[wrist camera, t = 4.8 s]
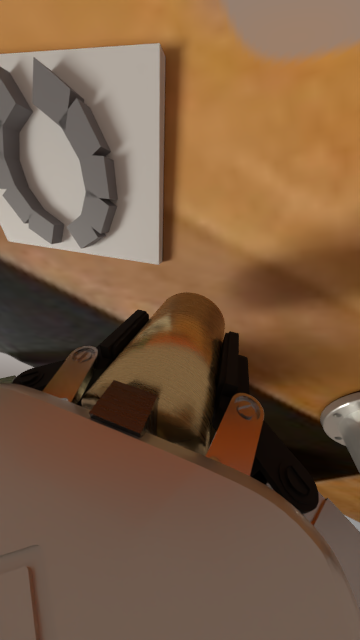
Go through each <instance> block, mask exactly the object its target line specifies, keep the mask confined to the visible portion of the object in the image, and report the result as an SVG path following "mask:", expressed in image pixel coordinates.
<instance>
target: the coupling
mask: <svg viewBox="0 0 360 640" xmlns="http://www.w3.org/2000/svg"><path fill="white" fill-rule="evenodd" d="M224 329H225V322H224V318H223V315H222V313H221V311H220V310H219V308H218V307H217V306H216V305H215V304H214V303H213V302H212V301H211V300H209V299H208V298H206V297H204V296H202V295H199V294H195V293H179V294H176V295H173V296H171V297H170V298H168V299H167V300H166V301H165V302H164V303H163V304H162V306H161V307H160V308H159V309H158V310H157V311H156V312H155V314H154V315H153V316H152V317H151V318H150V319H149V321H148V322H147V323H146V324H145V325H144V326H143V327H142V329H141V330H140V331H139V332H138V333H137V334H136V336H135V337H134V338H133V339H132V340H131V341H130V342H129V344H128V345H127V346H126V347H125V348H124V349H123V351H122V352H121V353H120V354H119V355H118V356H117V357H116V359H115V360H114V361H113V362H112V363H111V364H110V366H109V367H108V368H107V369H106V370H105V371H104V372H103V374H102V375H101V376H100V377H99V378H98V379H97V381H96V382H95V383H94V384H93V385H92V386H91V387H90V389H89V390H88V391H87V392H86V393H85V394H84V396H83V397H82V401H81V404H82V407H84V408H86V409H89V410H90V412H89V415H90V417H91V418H93V419H96V420H98V421H100V422H103V423H105V424H108V425H110V426H113V427H115V428H118V429H120V430H122V431H125V432H127V433H130V434H132V435H135V436H137V437H140V438H141V437H142V436H143V435H144V434H145V433H146V432H147V433H149V434H152V435H154V436H157V437H159V438H161V439H164V440H166V441H169V442H171V443H174V444H176V445H179V446H181V447H184V448H186V449H189V450H191V451H194V452H196V453H199V454H201V455H203V456H206V454H207V452H208V449H209V442H210V434H211V427H212V419H213V412H214V404H215V395H216V387H217V380H218V373H219V365H220V358H221V350H222V343H223V337H224Z"/></svg>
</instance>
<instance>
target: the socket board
mask: <svg viewBox="0 0 360 640" xmlns="http://www.w3.org/2000/svg"><path fill="white" fill-rule="evenodd" d="M165 58H166V57H165V54H164V52H163V50H162V47H161V45H160V43H156V44H141V45H127V46H112V47H97V48H83V49H68V50H53V51H38V52H24V53H9V54H0V225H1V227H2V229H3V231H4V233H5V235H6V237H7V239H8V241H11V242H17V243H23V244H30V245H36V246H43V247H49V248H55V249H62V250H68V251H75V252H81V253H87V254H94V255H100V256H107V257H113V258H119V259H126V260H132V261H139V262H145V263H151V264H158V265H159V264H160V263H162V249H163V185H164V122H165Z"/></svg>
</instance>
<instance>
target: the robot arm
mask: <svg viewBox="0 0 360 640" xmlns="http://www.w3.org/2000/svg"><path fill="white" fill-rule="evenodd" d="M148 321H149V315H148V314H147V312H146V311H142V310H137V311H136V312H135V313H134V314H132V315H131V316H130V317H129V318H128V319H127V320H126V321H125V322H124V323H123V324H121V325H120V326H119V327H118V328H117V329H116V330H115V331H114V332H113V333H112V334H111V335H109V336H108V337H107V338H106V339H105V340H104V341H103V342H102V343H101V344H100V345H99V346H98V347H96V348H95V347H92V346H84V347H80V348H78V349H76V350H75V351H73V352H72V353H71V354H70V355H69V357H68V358H67V359H66V360H63V361H59V362H55V363H51V364H47V365H44V366H40V367H36V368H32V369H29V370H27V371H25V372H23V373H21V374H20V375H18V376H17V377H16V376H10V377H6V378H1V379H0V640H360V532H359V531H358V530H357V529H356V528H355V526H354V525H353V524H352V523H351V522H350V521H349V520H348V519H347V518H346V517H345V516H344V515H343V514H342V513H341V512H340V510H339V509H338V508H337V507H336V506H335V505H334V504H333V503H332V502H331V501H330V500H329V499H328V498H327V499H325V498H324V497H323V496H322V495H321V494H320V493H319V492H318V490H317V487H316V484H315V482H314V480H313V478H312V476H311V475H310V474H309V472H308V471H307V470H306V468H305V467H304V466H303V465H302V464H301V463H300V462H299V460H298V459H297V458H296V457H295V456H294V455H293V454H292V452H291V451H290V450H289V449H288V448H287V447H286V445H285V444H284V443H283V442H282V441H281V440H280V439H279V437H278V436H277V435H276V434H275V433H274V432H273V431H272V429H271V428H270V427H269V426H268V425H267V424H266V423H265V421H264V420H263V419H264V411H263V408H262V406H261V404H260V403H259V402H258V401H257V400H256V399H255V398H254V397H252V396H251V395H250V393H249V375H248V359H247V357H245V356H241V355H238V352H239V334H238V333H234V332H229V333H225V337H224V340H223V343H222V350H221V358H220V365H219V373H218V380H217V387H216V395H215V404H214V412H213V419H212V423H213V425H212V426H213V427H214V429H215V430H216V434H215V437H214V439H213V441H212V443H211V445H210V448H209V450H208V452H207V454H206V456H203V455H201V454H199V453H196V452H194V451H191V450H189V449H186V448H184V447H181V446H179V445H176V444H174V443H171V442H169V441H166V440H164V439H161V438H159V437H157V436H154V435H152V434H149V433H147V432H146V433H145V434H144V435H143V436H142V437H141V438H140V437H137V436H135V435H132V434H130V433H127V432H125V431H122V430H120V429H118V428H115V427H113V426H110V425H108V424H105V423H103V422H100V421H98V420H96V419H93V418H91V417H90V415H89V412H90V410H89V409H86V408H84V407H82V404H81V401H82V397H83V396H84V394H85V393H86V392H87V391H88V390H89V389H90V387H91V386H92V385H93V384H94V383H95V382H96V381H97V379H98V378H99V377H100V376H101V375H102V374H103V372H104V371H105V370H106V369H107V368H108V367H109V366H110V364H111V363H112V362H113V361H114V360H115V359H116V357H117V356H118V355H119V354H120V353H121V352H122V351H123V349H124V348H125V347H126V346H127V345H128V344H129V342H130V341H131V340H132V339H133V338H134V337H135V336H136V334H137V333H138V332H139V331H140V330H141V329H142V327H143V326H144V325H145V324H146V323H147V322H148ZM320 419H321V424H322V426H323V429H324V431H325V432H326V434H327V435H328V436H329V437H330V438H332V439H333V440H335V441H337V442H338V443H340V444H342V445H345V446H347V448H348V450H349V453H350V455H351V457H352V459H353V461H354V463H355V465H356V467H357V469H358V471H359V473H360V392H357V393H353V394H350V395H347V396H344V397H342V398H339V399H338V400H336V401H334V402H332V403H331V404H329V405H328V406H327V407H326V408H325V409H324V410H323V412H322V414H321V417H320Z"/></svg>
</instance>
